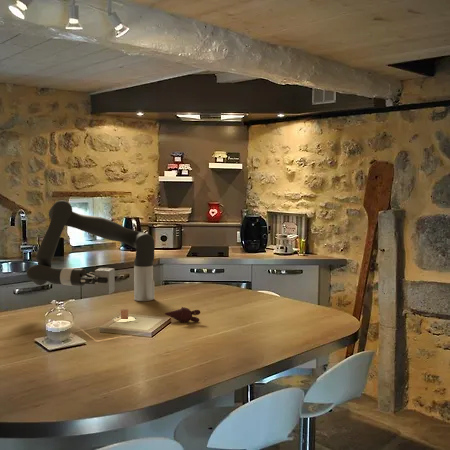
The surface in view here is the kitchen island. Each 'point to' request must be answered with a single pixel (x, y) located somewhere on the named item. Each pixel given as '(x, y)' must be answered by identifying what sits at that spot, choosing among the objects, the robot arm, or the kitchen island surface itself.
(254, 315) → the kitchen island surface
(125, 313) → the peach dome knob
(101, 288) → the grey block
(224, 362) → the kitchen island surface
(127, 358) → the kitchen island surface
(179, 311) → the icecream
